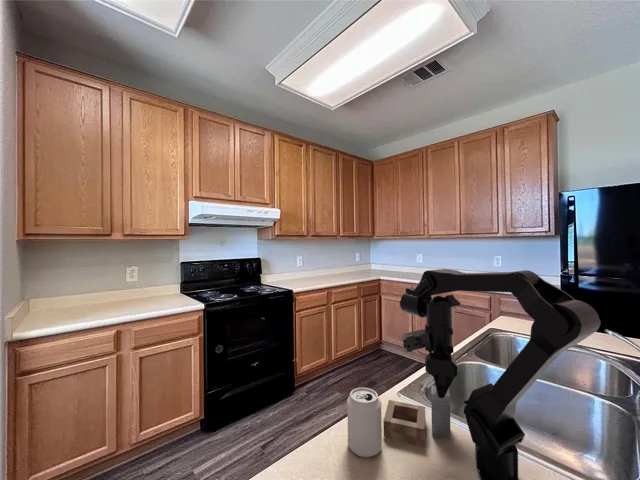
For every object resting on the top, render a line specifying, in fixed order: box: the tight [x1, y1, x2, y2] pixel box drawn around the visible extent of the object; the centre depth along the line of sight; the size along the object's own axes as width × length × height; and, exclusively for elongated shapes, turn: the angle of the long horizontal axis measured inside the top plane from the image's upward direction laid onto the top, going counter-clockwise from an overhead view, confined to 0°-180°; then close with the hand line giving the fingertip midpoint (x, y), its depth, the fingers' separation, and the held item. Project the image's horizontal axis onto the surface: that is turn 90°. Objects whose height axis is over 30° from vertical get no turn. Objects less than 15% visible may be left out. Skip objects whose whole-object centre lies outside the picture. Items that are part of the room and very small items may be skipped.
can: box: [346, 387, 383, 458], centre depth 63 cm, size 8×8×12 cm
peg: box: [430, 385, 452, 441], centre depth 68 cm, size 4×4×10 cm
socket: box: [383, 399, 427, 448], centre depth 69 cm, size 9×9×4 cm
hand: (440, 387), depth 68 cm, fingers open, 9 cm apart
